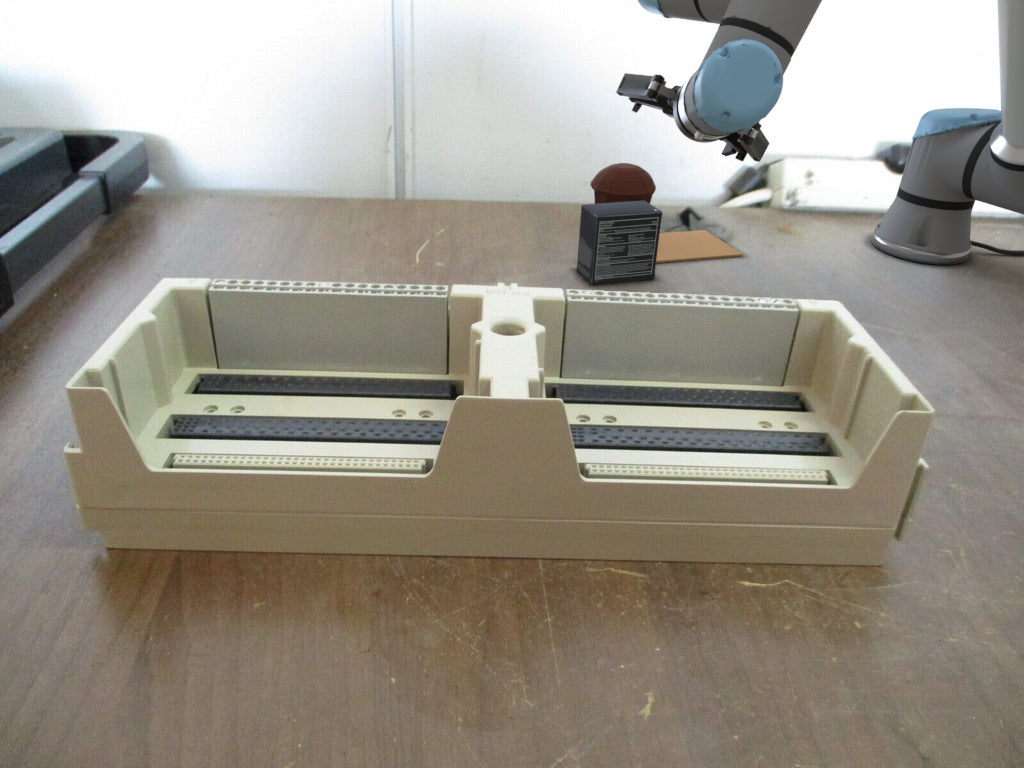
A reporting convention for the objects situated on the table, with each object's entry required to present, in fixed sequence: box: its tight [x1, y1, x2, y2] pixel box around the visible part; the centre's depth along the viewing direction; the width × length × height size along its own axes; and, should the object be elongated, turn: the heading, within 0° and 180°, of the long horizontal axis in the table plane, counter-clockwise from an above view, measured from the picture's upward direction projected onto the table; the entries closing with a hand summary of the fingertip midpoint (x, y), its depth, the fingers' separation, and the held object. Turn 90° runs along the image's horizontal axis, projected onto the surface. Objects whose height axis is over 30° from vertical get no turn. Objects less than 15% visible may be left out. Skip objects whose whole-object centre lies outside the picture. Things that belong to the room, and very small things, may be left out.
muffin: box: [590, 162, 657, 204], centre depth 135 cm, size 12×11×10 cm
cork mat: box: [656, 229, 743, 264], centre depth 127 cm, size 20×12×1 cm, turn 107°
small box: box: [576, 201, 664, 286], centre depth 113 cm, size 11×6×10 cm, turn 108°
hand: (683, 124), depth 104 cm, fingers open, 13 cm apart
